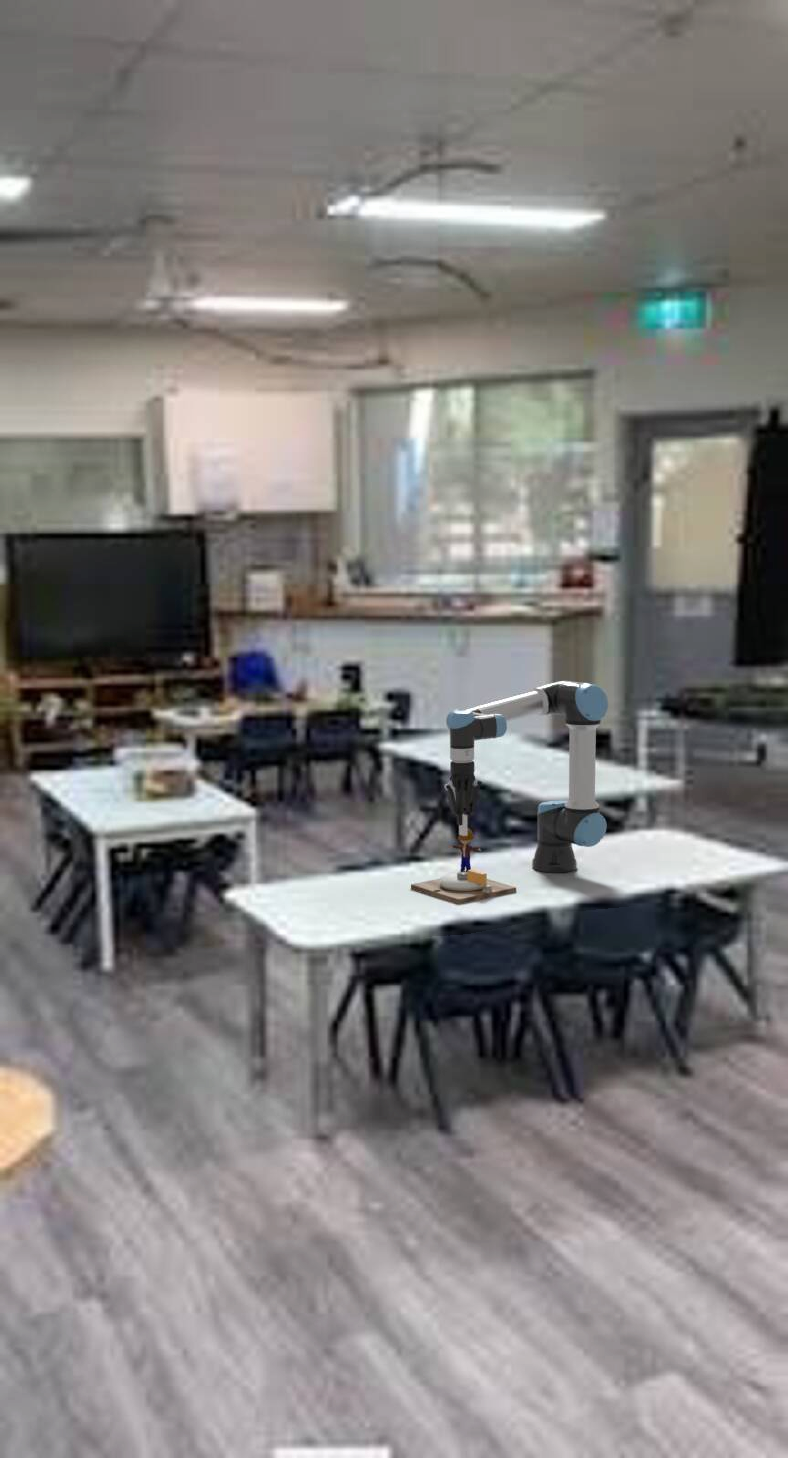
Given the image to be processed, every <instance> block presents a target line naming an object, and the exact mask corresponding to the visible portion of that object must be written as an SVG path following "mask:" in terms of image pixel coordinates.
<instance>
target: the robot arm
mask: <svg viewBox="0 0 788 1458" xmlns="http://www.w3.org/2000/svg"><path fill="white" fill-rule="evenodd" d="M608 707H609V701H608V696H607V694H606V692H605V691H604V690H603V688H601V687H600V686H598V685H597V684H593V683H590V682H580V681H572V680H559V681H554V682H552V683H548V684H545V685H540V686H536V687H534V688H532V689H531V691H530V692H527V693H523V694H520V695H515V696H511V697H509V698H505V699H501V700H498V701H493V702H490V703H487V704H482V705H479V706H476V707H470V708H468V709H461V708H460V709H453V710H451V711H450V712H448V714H447V716H446V727H447V729H449V753H450V754H449V758H450V760H451V761H450V763H449V765H450V777H449V781H448V782H447V783H444V784H443V788H444V791H445V792H446V797H447V801H448V805H449V808H450V813H452V814H454V815H456V824H457V825H458V835H459V834H460V835H462V836H467V835H468V834H467V828H468V825H470V815H472V813H474V812H475V811H476V807H477V802H478V797H479V792H480V788H481V786H482V785H483V782H482V781H480V780H478V779H477V778H476V776H475V761H474V760H475V741H480V740H490V739H496V738H501V737H503V736H505V734H506V733H507V730H508V727H507V726H508V723H510V722H513V721H516V720H517V721H518V720H520V719H525V718H528V717H531V716H535V715H537V716H540V717H542V716H546V715H558V716H564V724H565V725H566V727H567V728H569V742H568V743H569V750H568V751H569V753H568V754H569V755H568V756H569V759H568V761H569V762H568V764H569V767H568V771H569V772H568V800H550V801H543V802H541V803H539V805H538V807H537V814H536V815H537V820H536V821H537V846H536V849H535V852H534V857H533V858H532V862H531V867H532V869H533V870H534V871H535V870H536V871H537V872H538V871H539V872H542V873H551V874H553V873H568V872H569V873H570V872H572V871H575V870H577V869H578V865H577V862H578V861H577V859H576V856H575V853H574V850H573V845H572V844H574V845H576V846H579V847H587V848H590V847H593V846H596V845H598V844H599V843H600V842H601V840H603V838H604V836H606V835H605V834H606V831H607V821H606V818H605V817H604V816H603V815H602V814H601V813H600V803H598V802H597V801H596V754H597V753H596V742H597V741H596V737H597V733H596V731H597V730H596V729H597V728H598V727H599V726H600V725H601V722H602V721H601V720H602V719H603V718H604V717H605V716H606V713H607V712H608ZM453 788H454V791H453ZM454 793H455V794H454Z"/></svg>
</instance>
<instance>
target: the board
mask: <svg viewBox="0 0 788 1458" xmlns="http://www.w3.org/2000/svg"><path fill="white" fill-rule="evenodd" d="M410 890H413V891H415V892H419V893H422V894H425V895H429V896H432V897H435V898H439V899H442V900H445V901H448V902H451V903H454V904H456V905H460V904H466V903H470V902H475V901H479V900H484V899H485V900H486V899H489V898H494V897H498V896H503V895H508V894H513V893H516V892H517V887H516V886H513V885H509V884H507V883H503V882H500V881H495V880H492V879H489V878H487V885H484V886H483V888H482V889H479V890H472V891H456V890H449V889H445V888H442V887H441V886H440V878H437V879H432V880H426V881H422V882H417V883H411V884H410Z"/></svg>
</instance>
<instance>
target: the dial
mask: <svg viewBox="0 0 788 1458" xmlns="http://www.w3.org/2000/svg"><path fill="white" fill-rule="evenodd" d="M487 875H488V873H486V872H482V871H478V870H475V869H471V870H468V872H466V871H463V872H461V871H458V872H457V873H448V874H445V875H442V876H441V877H439V879H440V886H441V887H442V888H445V889H449V890H456V891H472V890H479V889H482V888H483V886H484V885H487V879H488V877H487Z"/></svg>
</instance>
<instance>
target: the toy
mask: <svg viewBox="0 0 788 1458" xmlns="http://www.w3.org/2000/svg"><path fill="white" fill-rule="evenodd" d="M467 834H468V835H467V836H462V835H460V834H459V833H458V837H457V840H459V842H460V843H461V844H460V845H458V844H455V845H451V846H450V848H451V849H454V848H455V849H456V850H457V849H458V850H459V851H460V852H461V855H460V860H461V861H460V862H461V863H460V870H459V872H468V870H472V868H471V857H472V856H471V851H474V852H475V851H479V852H481V851H482V850H481V848H479V847H477V846H472V845H469V843H470V842H472V841H473V840H474V833H473V831H472V830H471V829H470V828H468V827H467Z"/></svg>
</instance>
